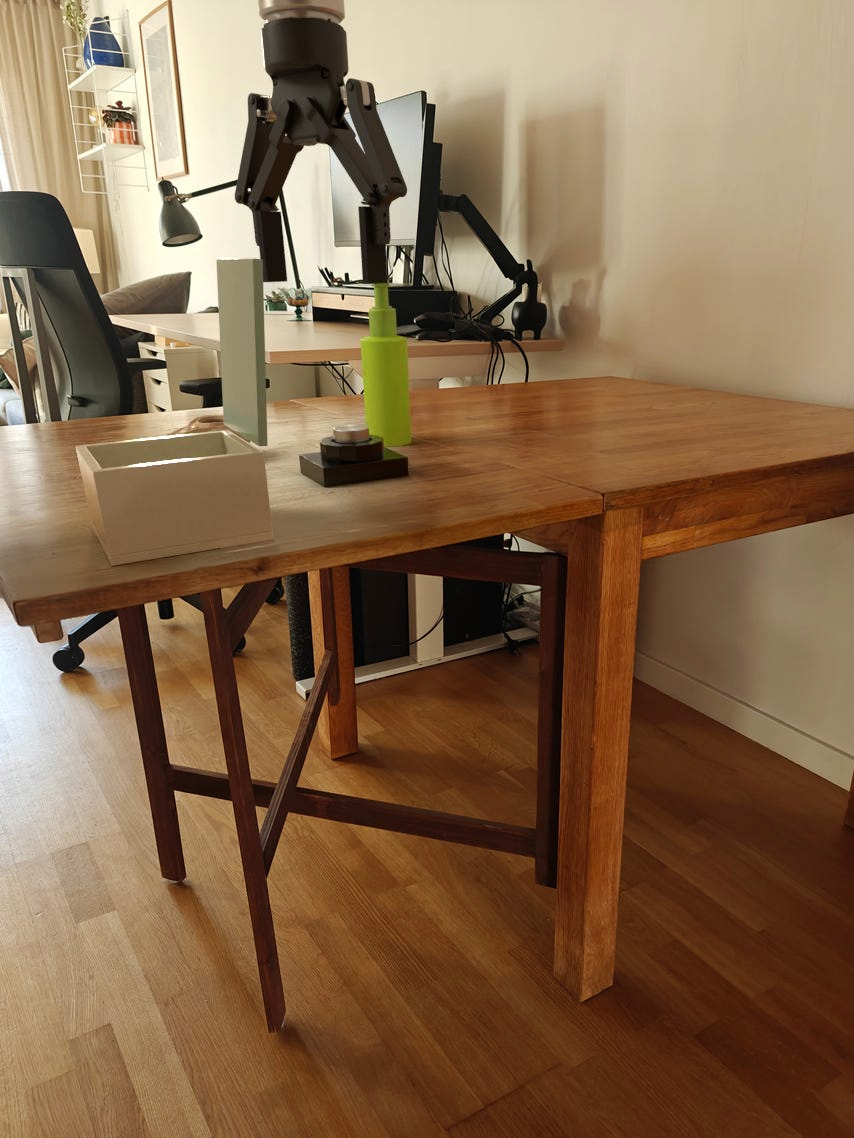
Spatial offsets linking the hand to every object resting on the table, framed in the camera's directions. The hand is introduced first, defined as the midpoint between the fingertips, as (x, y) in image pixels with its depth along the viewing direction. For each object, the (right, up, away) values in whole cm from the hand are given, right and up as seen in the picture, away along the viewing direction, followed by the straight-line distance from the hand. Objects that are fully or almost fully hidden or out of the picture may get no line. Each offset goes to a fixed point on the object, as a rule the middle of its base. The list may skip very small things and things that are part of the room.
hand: (323, 283), depth 85 cm
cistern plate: (+1, -16, +13) cm, 21 cm away
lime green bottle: (+3, -9, +30) cm, 31 cm away
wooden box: (-12, -26, -7) cm, 29 cm away
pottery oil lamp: (-18, -14, +20) cm, 30 cm away
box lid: (-6, -10, -10) cm, 16 cm away
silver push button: (+1, -13, +11) cm, 18 cm away
